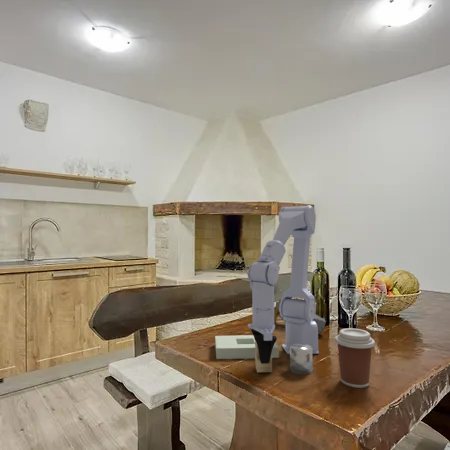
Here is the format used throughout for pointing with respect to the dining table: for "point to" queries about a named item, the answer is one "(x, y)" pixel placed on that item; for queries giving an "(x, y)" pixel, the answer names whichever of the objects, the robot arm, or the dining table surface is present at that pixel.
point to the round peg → (301, 358)
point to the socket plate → (238, 347)
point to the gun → (317, 319)
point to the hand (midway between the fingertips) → (263, 359)
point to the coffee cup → (354, 356)
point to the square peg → (258, 364)
